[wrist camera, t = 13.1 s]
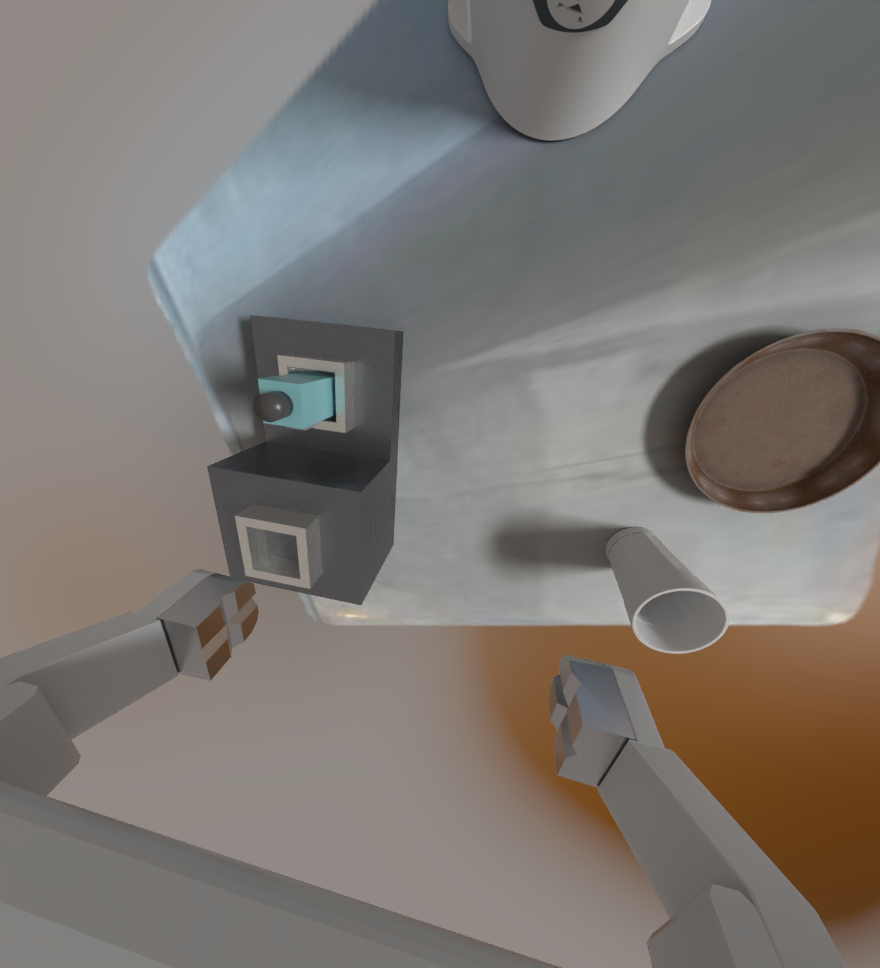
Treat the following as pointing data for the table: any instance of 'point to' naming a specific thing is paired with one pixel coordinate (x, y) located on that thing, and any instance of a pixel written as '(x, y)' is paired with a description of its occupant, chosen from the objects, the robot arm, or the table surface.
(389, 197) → the table surface
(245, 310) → the table surface
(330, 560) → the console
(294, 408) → the plug
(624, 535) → the cup
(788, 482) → the plant saucer
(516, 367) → the table surface
